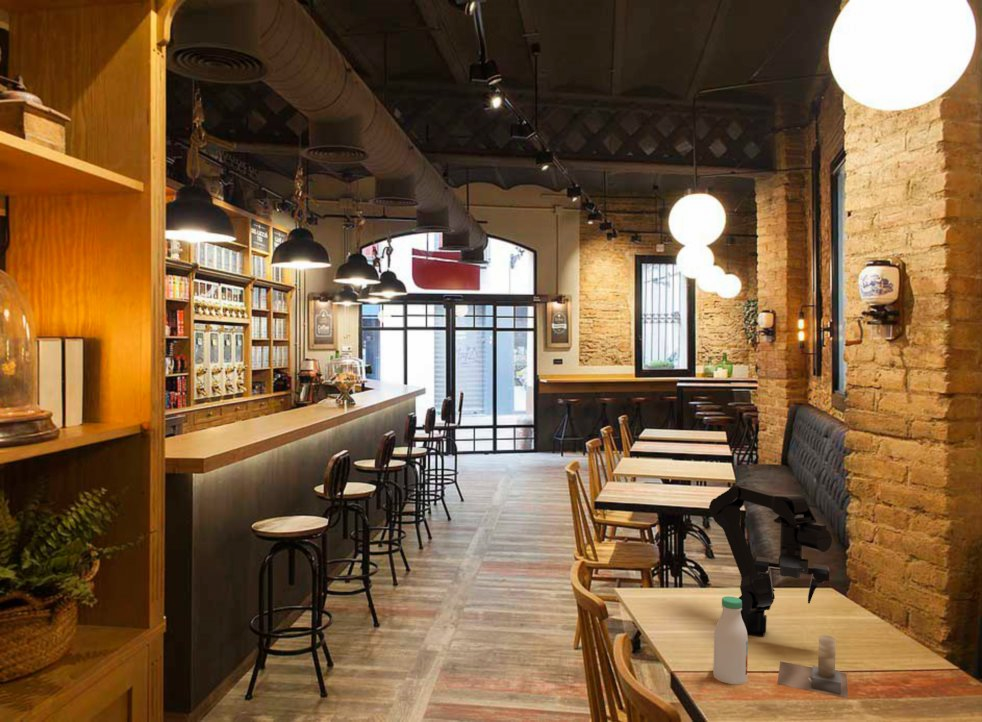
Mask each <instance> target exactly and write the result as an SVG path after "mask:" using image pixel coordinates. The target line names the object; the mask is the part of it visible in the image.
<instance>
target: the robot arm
mask: <svg viewBox="0 0 982 722" xmlns="http://www.w3.org/2000/svg"><path fill="white" fill-rule="evenodd" d="M746 502H747V503H751V504H755V505H757V506H761V507H764V508H767V509H770V510H771V511H772V512H773V513H774V514H775V515H778V516H777V517H776V518H775V519H773V522H774V523H775V524H780V525H779V527H780V529H779V530H780V533H779V556H778V562H774V561H771V558H770V557H764V556H755V558H754V557H753V555H752V552H751V550H750V548H749V544H748V542H747V539H746V537H745V534H744V531H743V528H742V526H741V519H742V511H741V508H742V507H744V506H745V504H746ZM708 508H709V509H708V510H709V513H710V515H711V517H712V518H713V521H714V522H715V523H716V524H717V525H718V526H719V527H721V528H722V530H723V532H724V535H725V537H726V540H727V543H728V545H729V548H730V551H731V553H732V556H733V558H734V561H735V564H736V566H737V569H738V571H739V574H740V577H741V580H740V585H739V586H740V587H739V590H740V593H741V595H740V596H739V597H738V598H739V599H741V600H742V610H741V616H742V620H743V622H744V624H745V627H746V630H747V635H752V636H757V637H764V635H765V633H767V623H768V620H767V619H768V618H767V617H768V616H767V615H766V614H765V611H770V610H771V607H772V605H773V603H774V601H775V591H776V590H775V589H774V587H773V581H772V580H773V578H772V570H775V571H779V575H780V576H782V577H784V578H785V577H791V578H793V579H799V578H800V576H801V574H803V575H804V574H805V575H811V576H810V577H811V578H810V583H809V587H808V588H809V589H808V594H807V604H811V601H812V598H813V596H814V593H815V591H816V589H817V588H818V586H819V585H820V584H824V582H829V581H830V567H829V566H828V565H827V564H818V563H813V564H812V565H813V566H812V567H811V566H809V559H807V558H803V556H804V548H808V549H811V550H815V551H817V552H821V553H824V552H828V551H829V549H830V548H831V546H832V543H833V537H832V535H831V532H830V531H829V530H827V525H826V524H824V523H817V520H816V517H815V516H814V514H813V512H812V510H811V508H810V506H809V504H808V501H807V500H806V498H805V496H803V495H801V494H781V493H779V494H778V493H775V492H771V491H768V490H764V489H760V488H756V487H753V486H748V484H744V483H743V484H742V483H741V484H734V485H732V486H731V487H730V488H729V489H728V490H726V491H724V492H723V493H721V494H719V495H718V496H717V497H715V498H712V499H711V501H710V504H709V506H708Z"/></svg>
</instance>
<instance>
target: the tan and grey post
mask: <svg viewBox="0 0 982 722" xmlns="http://www.w3.org/2000/svg"><path fill="white" fill-rule="evenodd" d="M836 643H837V640H836V638H835V637H833V636H830V635H825V634H824V635H823V634H822V635H819V636H818V657H817V659H818V661H817V663H818V665H817V666H815V665H812V667H813V672H812V688H813V689H818V690H823V691H828V692H833V693H839V694H841V675H840V672H841V670H837V669H836V652H837V651H836V650H837V648H836V647H837V644H836Z"/></svg>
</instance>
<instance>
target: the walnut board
mask: <svg viewBox="0 0 982 722" xmlns="http://www.w3.org/2000/svg"><path fill="white" fill-rule="evenodd" d="M778 669H779V670H778V675H777V676H778V677H777V683H776V684H777V685H778V686H783V687H789V688H793V689H798V690H804V691H809V692H815V693H819V694H824V695H829V696H833V697H839V698H844V699H849V690H848V678H847V677H848V675H847V673H845V672H841V671H840V675H841V694H839V693H833V692H828V691H823V690H818V689H813V688H812V672H813V666H807V665H801V664H797V663H791V662H785V661H780V662H779V667H778Z"/></svg>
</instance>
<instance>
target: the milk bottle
mask: <svg viewBox="0 0 982 722" xmlns="http://www.w3.org/2000/svg"><path fill="white" fill-rule="evenodd" d="M721 608H722V611H721V614H720V617H719V619H718V620H717V623H716V626H715V628H714V636H713V637H714V639H713V664H712V666H713V667H712V669H713V670H712V672H713V673H712V674H713V677H714V678H715V679H716V680H718V681H719V682H722V683H725V684H730V685H742V684H745V683H746V682H747V681H748V659H749V658H748V650H749V644H748V643H749V639H748V638H749V637H748V634H747V630H746V627H745V624H744V622H743V620H742V616H741V610H742V600H741V599H739V597H735V596H723V597H722V598H721Z"/></svg>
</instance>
